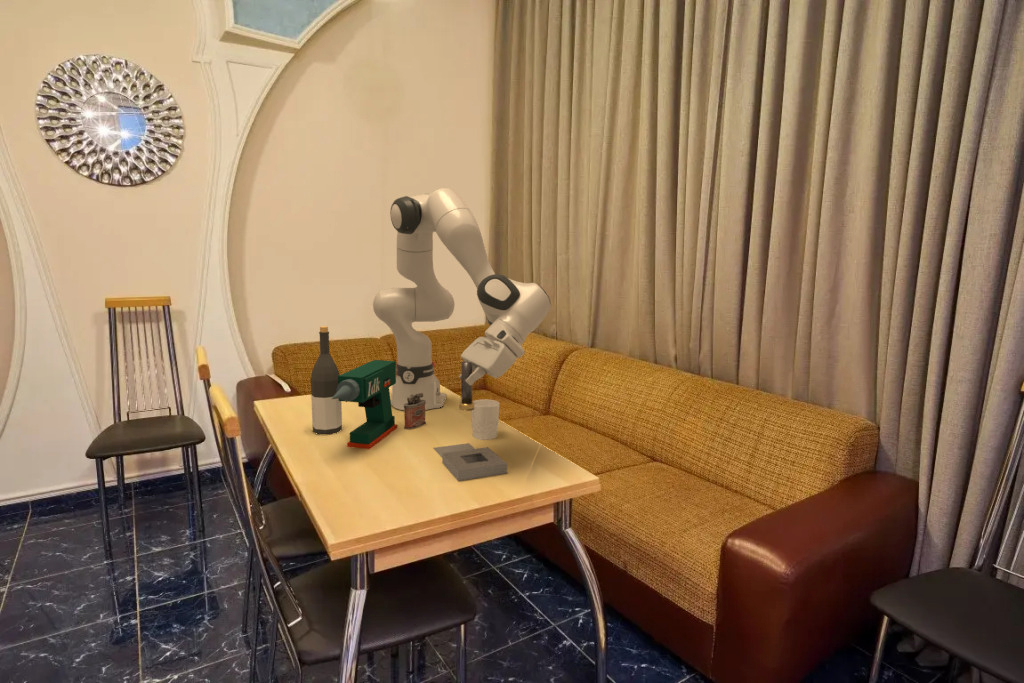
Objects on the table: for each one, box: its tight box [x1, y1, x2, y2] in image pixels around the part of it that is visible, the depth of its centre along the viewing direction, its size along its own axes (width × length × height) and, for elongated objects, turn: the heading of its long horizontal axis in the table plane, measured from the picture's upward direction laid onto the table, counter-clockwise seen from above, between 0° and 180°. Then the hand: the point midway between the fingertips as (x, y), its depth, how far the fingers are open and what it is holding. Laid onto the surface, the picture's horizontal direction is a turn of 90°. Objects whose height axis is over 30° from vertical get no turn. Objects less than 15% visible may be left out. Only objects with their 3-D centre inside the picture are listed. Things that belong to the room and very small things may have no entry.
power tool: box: [332, 359, 398, 450], centre depth 156 cm, size 32×7×20 cm, turn 168°
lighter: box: [403, 393, 427, 431], centre depth 173 cm, size 8×3×10 cm, turn 147°
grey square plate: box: [433, 442, 476, 458], centre depth 153 cm, size 10×10×1 cm
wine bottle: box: [310, 325, 343, 435], centre depth 167 cm, size 8×8×30 cm
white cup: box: [471, 398, 501, 441], centre depth 165 cm, size 8×8×10 cm
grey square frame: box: [441, 446, 508, 482], centre depth 142 cm, size 12×12×3 cm
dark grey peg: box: [458, 360, 474, 412], centre depth 143 cm, size 4×4×12 cm
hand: (464, 381), depth 143 cm, fingers closed on dark grey peg, 3 cm apart
